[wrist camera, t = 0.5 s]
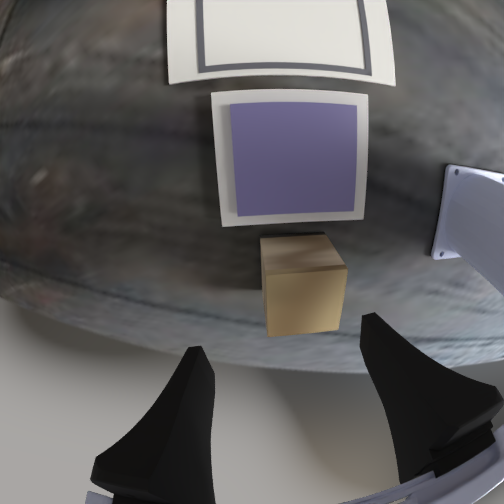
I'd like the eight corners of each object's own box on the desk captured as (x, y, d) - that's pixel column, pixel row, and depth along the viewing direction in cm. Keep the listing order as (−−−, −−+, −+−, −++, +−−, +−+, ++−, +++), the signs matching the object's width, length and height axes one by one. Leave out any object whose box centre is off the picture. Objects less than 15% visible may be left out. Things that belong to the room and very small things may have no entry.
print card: (380, -11, 10) (383, -13, 10) (392, 86, 14) (396, 86, 13) (168, -18, 10) (167, -21, 10) (170, 84, 14) (168, 83, 13)
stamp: (323, 231, 19) (348, 268, 14) (319, 285, 21) (337, 329, 16) (259, 235, 19) (265, 275, 14) (261, 289, 21) (267, 336, 16)
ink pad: (359, 95, 14) (372, 94, 13) (356, 213, 18) (367, 222, 16) (213, 94, 14) (209, 91, 13) (223, 219, 18) (221, 230, 16)
